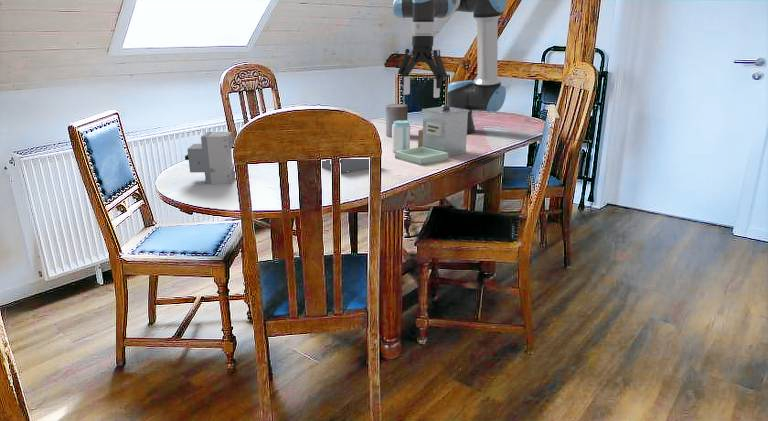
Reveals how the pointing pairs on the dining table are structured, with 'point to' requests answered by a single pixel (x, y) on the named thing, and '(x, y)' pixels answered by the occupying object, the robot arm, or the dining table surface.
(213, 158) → the circuit breaker
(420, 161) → the tray
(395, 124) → the can
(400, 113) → the pillar candle
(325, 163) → the wheel bin
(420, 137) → the walnut block
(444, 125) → the box
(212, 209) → the dining table surface
